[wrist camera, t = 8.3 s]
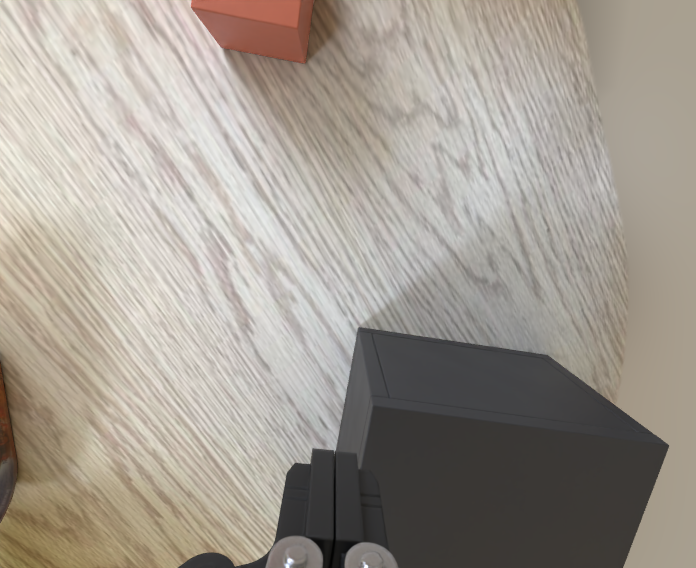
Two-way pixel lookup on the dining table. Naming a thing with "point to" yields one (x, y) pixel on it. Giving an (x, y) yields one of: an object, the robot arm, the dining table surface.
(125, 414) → the dining table surface
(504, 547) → the black drawer unit
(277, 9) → the block
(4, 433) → the tin
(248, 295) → the dining table surface
